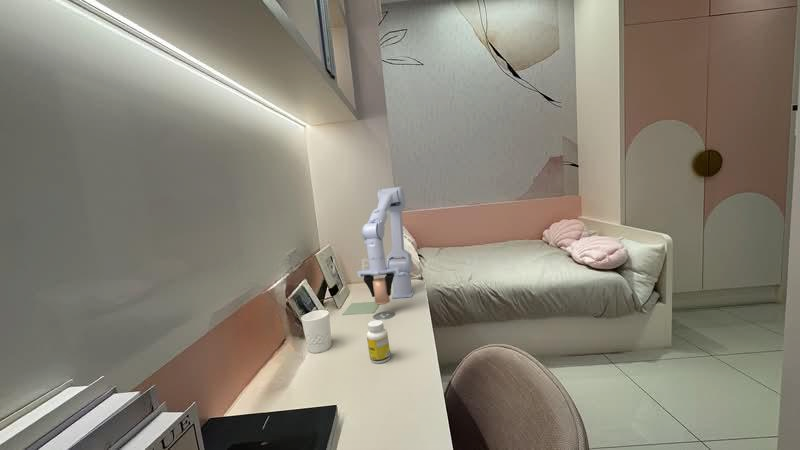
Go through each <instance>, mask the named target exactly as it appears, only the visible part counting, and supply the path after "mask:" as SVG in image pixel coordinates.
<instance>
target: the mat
mask: <svg viewBox="0 0 800 450" xmlns="http://www.w3.org/2000/svg"><path fill="white" fill-rule="evenodd" d="M379 306H380V305H377V304H375V301H366V302H364V301H363V302H352V303H350V304H349V306H348V307H347V308H346V309H345V311H343V312H342V316H350V315H363V314H364V315H366V314H374V313H375V312H376V310H377V309H378V307H379Z"/></svg>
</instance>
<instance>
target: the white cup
mask: <svg viewBox="0 0 800 450" xmlns="http://www.w3.org/2000/svg"><path fill="white" fill-rule="evenodd" d="M300 319H301V325H302V328H303V334H304V338H305V341H306V346H307V349H308V350H307V351H308V352H309V353H311V354H319V353H323V352H326V351H328V350H330V348H332V345H333V343H332V331H331V321H330V320H331V319H330V311H328V310H321V309H320V310H313V311H310V312H308V313H305V314H303V315H302V316H301V317H300Z"/></svg>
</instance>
